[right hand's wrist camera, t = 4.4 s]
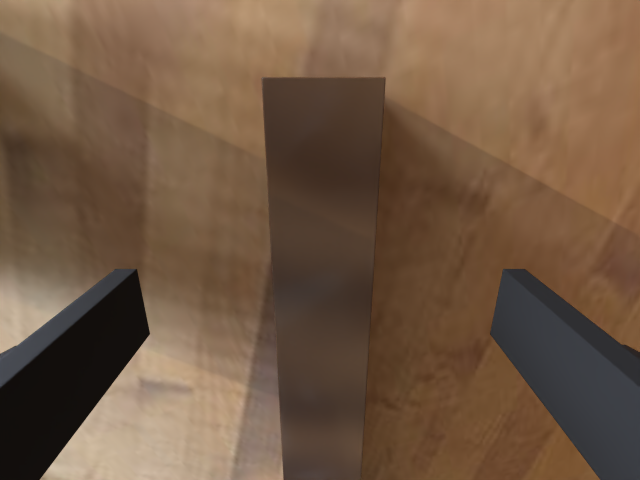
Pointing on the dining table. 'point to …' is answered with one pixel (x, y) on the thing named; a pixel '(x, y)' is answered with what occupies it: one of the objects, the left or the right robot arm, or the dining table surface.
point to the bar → (322, 262)
